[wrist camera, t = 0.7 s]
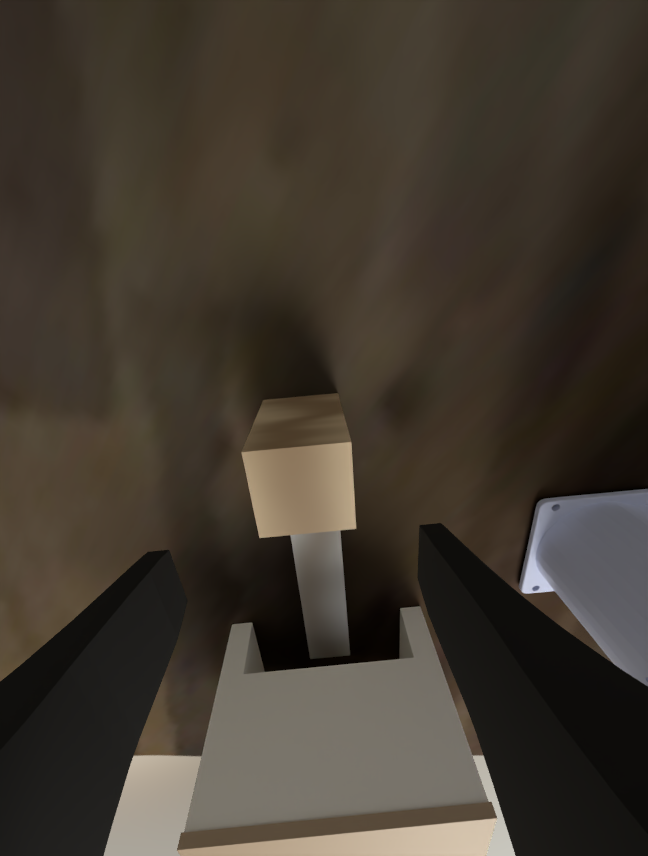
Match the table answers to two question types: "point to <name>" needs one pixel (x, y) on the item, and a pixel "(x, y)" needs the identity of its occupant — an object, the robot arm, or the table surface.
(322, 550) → the wooden and grey bar
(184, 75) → the table surface
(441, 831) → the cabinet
